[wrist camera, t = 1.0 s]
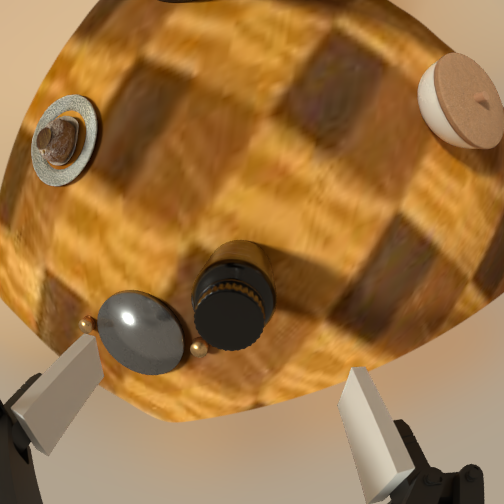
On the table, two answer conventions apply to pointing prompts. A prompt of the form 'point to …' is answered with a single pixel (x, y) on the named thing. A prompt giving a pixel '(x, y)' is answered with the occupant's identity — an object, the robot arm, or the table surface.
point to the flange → (142, 333)
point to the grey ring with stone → (62, 140)
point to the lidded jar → (461, 103)
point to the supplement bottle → (234, 296)
